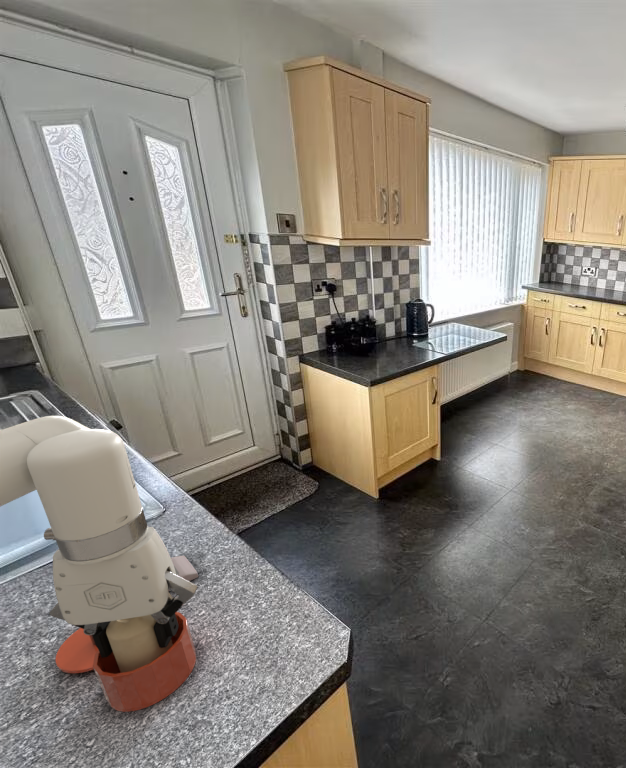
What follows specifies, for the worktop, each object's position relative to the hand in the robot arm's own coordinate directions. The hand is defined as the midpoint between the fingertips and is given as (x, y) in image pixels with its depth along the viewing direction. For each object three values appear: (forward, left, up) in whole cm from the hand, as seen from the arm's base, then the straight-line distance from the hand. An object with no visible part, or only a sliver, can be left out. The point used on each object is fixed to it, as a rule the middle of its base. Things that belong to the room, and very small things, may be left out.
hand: (140, 641), depth 56 cm
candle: (0, 0, -5) cm, 5 cm away
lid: (-9, +7, -6) cm, 12 cm away
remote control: (-8, +17, -6) cm, 20 cm away
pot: (0, 0, -6) cm, 6 cm away
